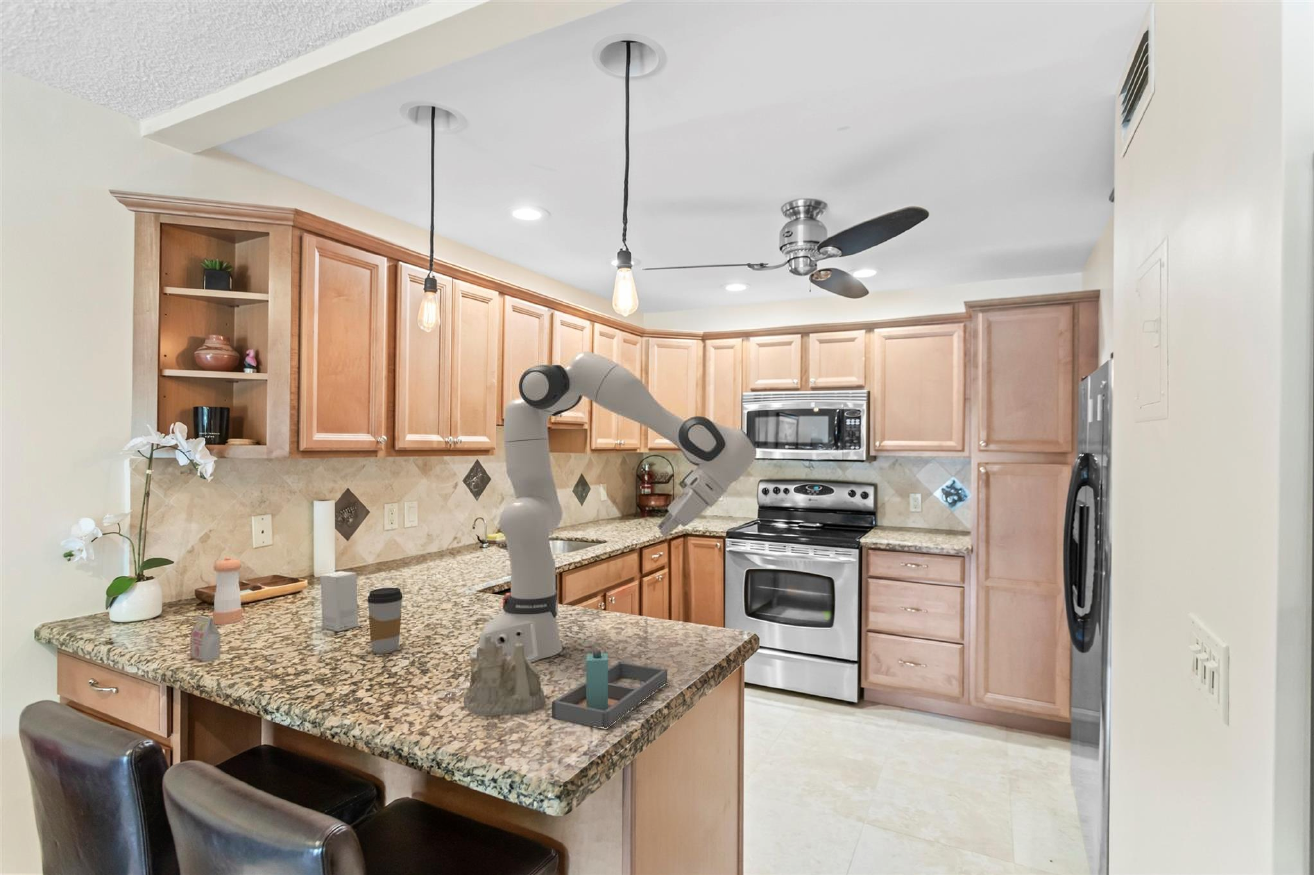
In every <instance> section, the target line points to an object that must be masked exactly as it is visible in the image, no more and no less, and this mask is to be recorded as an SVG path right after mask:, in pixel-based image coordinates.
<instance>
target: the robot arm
mask: <svg viewBox="0 0 1314 875" xmlns="http://www.w3.org/2000/svg"><path fill="white" fill-rule="evenodd" d="M518 391H519V394H520V397H517V398H514V399H512V400H510V401H509V402H508V403H507V405H505V406H506V407H505V409H504V417H503V418H504V419H503V442H504V443H503V444H504V457H505V467H506V474H507V476H508V478H509V480H510V482H511V485H512V488H513V489H512V490H513V492H514V495H515V499H514V500H513V501H511V502H509V504H507V506H506V507H505V508H504V509H503V510H502V512H501V514H500V516H499V530H500V531H501V533H502V535H503V536H504V538H505V543H506V548H507V553H508V559H509V563H510V592H507V593H505V595H504V596H503V599H502V611H501V612H499V613H498V614H497V615H496V616H495V617H493V618H492V619H491V620H489V622H487V623H486V624H485V626H483V628H482V630H481V632H480V636H479V641H478V643H476V644H475V645H473V647H471V649H470V651H469V659H470V660H471V657H477V648H478V647H484V643H485V637H486V635H490V637H491V640H494V641H495V643H496V645H500V644H502V648H503V653H505V652H506V659H507V661H509V659H510V657H511V656H512V654H513V653H514V651H515V645H516V644H517V643H521V644H523V648H524V657H525V658H526V659H527V660H528V661H529V662H530V663H531V664H532V663H534V662H536V661H539V660H541V659H546V658H550V657H553V656H556V655H557V654H559V653H561V652H562V651H563V645H562V642H561V638H560V634H559V628H558V617H557V616H558V612H559V607H558V606H559V599H558V593H557V592H556V561H555V558H554V556H553V552H552V548H551V542H550V534H552V533H553V532H554V531H555V530H556V529H557V528H558V526H559V525H560V523H561V521H562V518H563V508H562V505H561V503H560V500H559V496H558V491H557V489H556V488H557V487H556V484H555V481H554V480H555V479H554V476H553V471H552V465H551V452H550V451H551V450H550V443H549V432H548V431H549V430H548V422H549V419H550V417H551V416H552V417H557V416H559V415H561V414H563V413H565V412H568V411H570V410H572V409H573V408H575V407H577V406H578V405H579V404H580V402H581V400H582V399H583V397H584V398H587V399H589V400H590V401H591V402H594V404H596V405H598V406H600V407H601V408H603V409H606V410H607V411H609V412H612V413H614V414H616V415H619V416H621V417H623V418H626V419H629V420H631V421H633V422H636V423H638V424H641V425H643V426H644V427H647V428H649V429H650V430H652V431H653V432H655V433H656V434H658V435H659V436H662V437H663V438H665V439H666V440H668V441H669V442H671V443H672V444H674V445H675V446H676V447H678V448H679V450H680V451H681V452H682V454H683V456H684V457H685V459H686V460H687V461H688V462H689V463H690V464H691V465H693V466H695V469H694V470H693V471H692V472H691V473H689V475H688V476H687V477H686V478H685V479H684V480H683V482H684V483H685V484H686V486H685V487H684V488H683V489H682V492H680V494H679V495H678V496H677V497H676V498H675V499H673V501H671V503H670V504H669V505H668V506H667V511H668V513H666V514H665V516H664V517H663V519H661V521H660V522H659V523H658V524H657V529H658V530H659V533H660V535H662V536H663V537H664V538H667V537H668V536H669V535H670V533H672V532H673V531H675V530H676V529H677V528H679V526H680V525H681V526H682V528H683V527H684V528H685V527H686V526H688V525H690V524H691V523H693V521H695V520H696V519H697V518H698V517H699V516H700V515H701V514H702V513H703V512H705V510H707V508H708V507H709V508H712V507H713V506H714V505H715V504H716V503H717V502H718V501H719V500H720V499H721V498H722V497H723V496H724V494H726V492H727V491H728V489H729V487H730V486H731V485H732V484H733V483H735V482H736V481H738V480H740V478H741V477H742V476H743V475H744V474H745V473H746V472H747V471H748V469H749V468H750V467H751V466H752V464H753V463H754V462H755V460H756V457H757V448H756V445H755V444H754V442H753V441H752V439H751V438H750V437H749V435H748V434H747V433H746V432H745V431H743V429H740V428H731V427H727V426H724V425H722V424H718V423H716V422H715V421H712V420H711V419H709V418H707V417H705V416H699V415H697V416H691V417H689V418H688V419H686V420H684V419H682V418H680V417H679V416H678V415H676V414H675V413H672V412H671V411H670V410H668V409H666V408H665V407H663V406H662V404H660V403H659V402H658V401H657V400H656V399H655V397H654V396H653V394H652V393H651V392H650V391H649V389H648V388H647V387H646V385H645V384H644V382H643V381H642V380H641V379H639V378H638V377H637V376H636V375H635V374H634V373H633V372H632V371H630V370H629V369H627V368H626V367H624V366H622V365H620V364H619V363H617V362H615V361H613V360H611V359H609V358H606V357H605V356H602V355H600V354H597V353H594V352H591V351H582V352H579V353H578V354H576V355H575V356H574V357H573V358H572V359H571V361H570V362H569V364H568V366H566V367H563V366H562V365H560V364H540V365H535V366H532V367H530V368H527V369H526V370H525V371H524V372H523V373H522V375H521V376H520V378H519V381H518Z"/></svg>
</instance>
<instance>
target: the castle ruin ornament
mask: <svg viewBox="0 0 1314 875" xmlns="http://www.w3.org/2000/svg"><path fill="white" fill-rule="evenodd" d="M541 678H542V675H541V674H540V671H539V669H538V668H537V667H536V665H535V664H533V663H532V662H531V663H530V662H529V661H528V660H527V659H526V658H525V657H524V648H523V644H521V643H517V644H516V645H515V651H514V653H513V654H512V656H511V657H510V659H509V661H507V659H506V652H505V653H503V648H502V644H500V645H496V643H495V641H494V640H491V637H490V635H486V637H485V643H484V647H478V648H477V657H471V659H470V678H469V679H470V681H469V686H468V689H467V690H466V691H465V695H464V696H463V704H464V706H465V708H466V710H467V711H469V713H471V714H473V715H478V716H483V717H492V716H494V717H496V716H497V717H499V716H505V715H515V714H523V713H532V712H535V711H538V710H541V709H542V708H543V707H544V706H545V705H546V698H545V697H546V696H545V691H544V690H543V689H542V684H541V681H540V679H541Z"/></svg>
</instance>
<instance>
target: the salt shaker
mask: <svg viewBox="0 0 1314 875" xmlns="http://www.w3.org/2000/svg"><path fill="white" fill-rule="evenodd" d="M242 566H243V564H242V562H241V561H240V560H238V559H235V558H231V557H230V556H226V557H225V558H224V559H221V560H219V561H217V562H215V564H214V565H213V571H215V572H216V589H215V592H214V593H215V594H214V599H213V600H214V601H213V602H214V605H213V607H214V608H213V609H214V610H213V611H212V619H213V622H214V624H215V625H229V624H234V623H237V622H240V621H242V620H243V608H242V606H241V605H242V594H241V590H240V585H239V584H240V583H239V581H240V579H239V578H240V577H239V576H240V574H239V570H241V568H242Z"/></svg>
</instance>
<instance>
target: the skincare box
mask: <svg viewBox="0 0 1314 875" xmlns="http://www.w3.org/2000/svg"><path fill="white" fill-rule="evenodd" d="M357 585H358V584H357V572H352V571H351V572H350V571H344V570H343V571H342V570H339V571H334V572H330V573H324V574H320V593H321V594H320V598H321V599H320V600H321V602H320V603H321V626H322V627H321V628H322V629H324V630H329V631H334V632H342V631H346V630H350V629H354V628H357V627H358V626H359V616H358V615H359V613H358V612H359V611H358V586H357Z"/></svg>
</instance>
